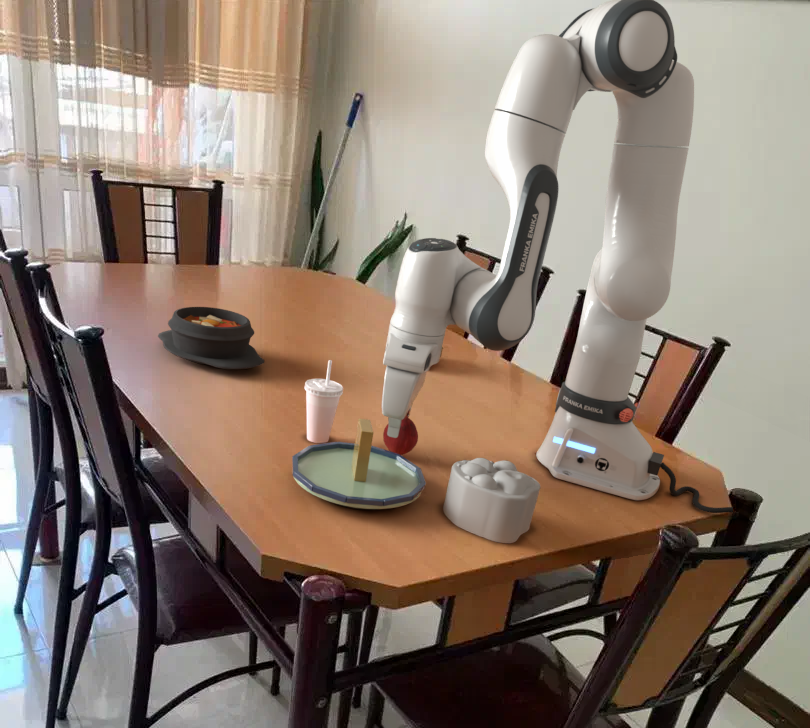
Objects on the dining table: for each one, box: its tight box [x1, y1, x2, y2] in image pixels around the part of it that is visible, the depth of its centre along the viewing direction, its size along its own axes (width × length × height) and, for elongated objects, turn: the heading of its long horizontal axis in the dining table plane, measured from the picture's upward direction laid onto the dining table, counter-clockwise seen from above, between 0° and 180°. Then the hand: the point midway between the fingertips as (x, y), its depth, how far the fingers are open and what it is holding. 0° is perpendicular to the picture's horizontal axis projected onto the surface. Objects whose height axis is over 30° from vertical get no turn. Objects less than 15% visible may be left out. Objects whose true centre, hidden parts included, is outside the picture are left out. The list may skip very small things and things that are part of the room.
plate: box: [291, 418, 427, 510], centre depth 120 cm, size 20×20×9 cm
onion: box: [382, 414, 419, 456], centre depth 135 cm, size 6×6×8 cm
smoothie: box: [303, 359, 344, 444], centre depth 134 cm, size 6×6×14 cm
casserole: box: [157, 306, 265, 370], centre depth 163 cm, size 25×19×8 cm
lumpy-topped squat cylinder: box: [442, 457, 541, 544], centre depth 119 cm, size 10×13×9 cm
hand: (398, 426), depth 134 cm, fingers open, 8 cm apart
